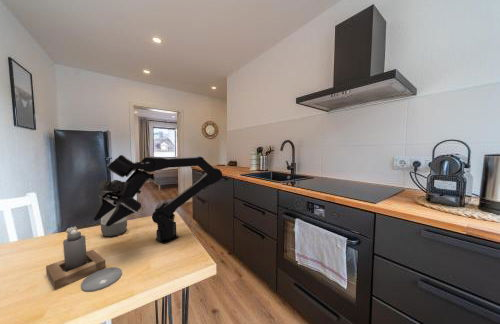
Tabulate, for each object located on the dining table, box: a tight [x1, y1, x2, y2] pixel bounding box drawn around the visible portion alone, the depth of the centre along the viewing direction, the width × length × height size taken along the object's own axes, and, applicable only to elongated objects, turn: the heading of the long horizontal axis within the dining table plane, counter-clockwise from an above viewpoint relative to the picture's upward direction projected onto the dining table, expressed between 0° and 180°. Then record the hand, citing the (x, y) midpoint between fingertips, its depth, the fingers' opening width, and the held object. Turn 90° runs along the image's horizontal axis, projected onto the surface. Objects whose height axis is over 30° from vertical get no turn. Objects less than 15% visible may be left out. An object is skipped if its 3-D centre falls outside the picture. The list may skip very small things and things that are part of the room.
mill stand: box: [45, 249, 107, 291], centre depth 56 cm, size 11×11×2 cm
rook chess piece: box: [65, 226, 79, 235], centre depth 69 cm, size 4×4×8 cm
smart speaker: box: [100, 205, 128, 237], centre depth 81 cm, size 10×9×14 cm
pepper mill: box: [62, 230, 88, 273], centre depth 56 cm, size 5×5×13 cm
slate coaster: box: [80, 266, 123, 293], centre depth 52 cm, size 9×9×1 cm
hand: (100, 223), depth 61 cm, fingers open, 9 cm apart
